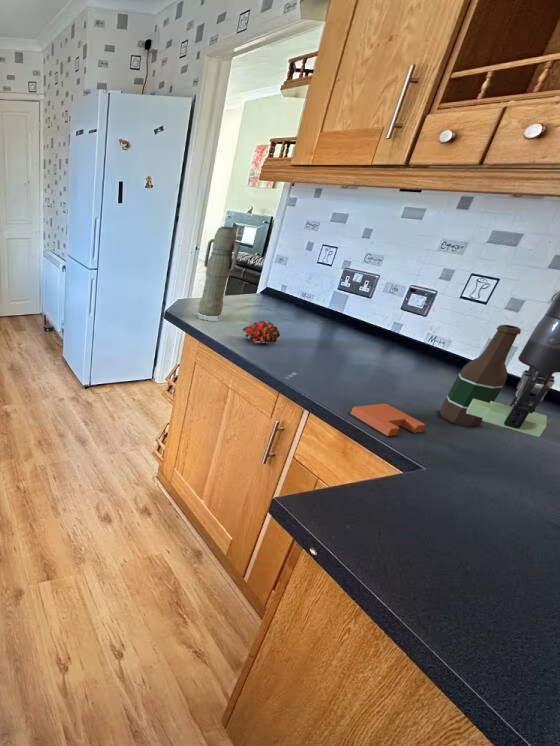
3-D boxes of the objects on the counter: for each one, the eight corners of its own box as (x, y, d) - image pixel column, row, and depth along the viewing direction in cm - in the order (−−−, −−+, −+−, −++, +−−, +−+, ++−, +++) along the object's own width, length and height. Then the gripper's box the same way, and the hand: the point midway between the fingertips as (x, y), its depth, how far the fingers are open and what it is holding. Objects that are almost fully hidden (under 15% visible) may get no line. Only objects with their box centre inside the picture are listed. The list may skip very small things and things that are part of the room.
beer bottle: (483, 421, 101) (539, 328, 90) (474, 431, 97) (531, 335, 86) (443, 408, 106) (491, 318, 95) (433, 416, 102) (482, 324, 91)
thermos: (219, 323, 163) (240, 230, 147) (190, 317, 169) (207, 226, 153) (226, 318, 169) (247, 228, 153) (198, 312, 175) (215, 225, 159)
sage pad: (468, 406, 89) (473, 396, 88) (539, 426, 82) (546, 415, 81) (464, 415, 85) (470, 405, 84) (539, 437, 78) (546, 426, 77)
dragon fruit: (277, 352, 142) (240, 348, 149) (284, 333, 145) (247, 330, 152) (276, 337, 136) (238, 333, 143) (283, 317, 138) (245, 314, 146)
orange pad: (382, 410, 105) (386, 403, 104) (422, 431, 96) (426, 424, 95) (350, 413, 103) (353, 406, 102) (387, 436, 94) (391, 428, 93)
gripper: (593, 358, 68) (538, 442, 76) (589, 338, 77) (539, 416, 84) (528, 345, 73) (482, 425, 81) (531, 328, 82) (489, 402, 89)
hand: (512, 420), depth 83 cm, fingers closed on sage pad, 6 cm apart
